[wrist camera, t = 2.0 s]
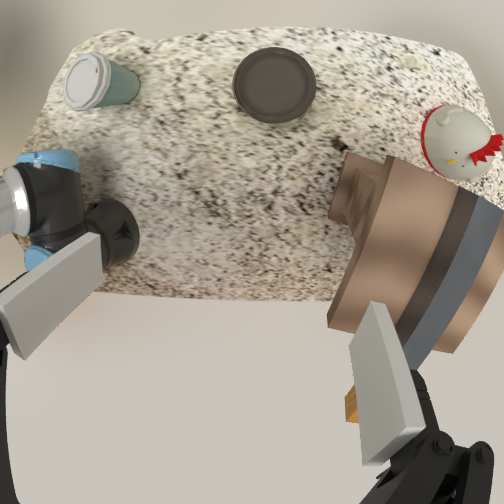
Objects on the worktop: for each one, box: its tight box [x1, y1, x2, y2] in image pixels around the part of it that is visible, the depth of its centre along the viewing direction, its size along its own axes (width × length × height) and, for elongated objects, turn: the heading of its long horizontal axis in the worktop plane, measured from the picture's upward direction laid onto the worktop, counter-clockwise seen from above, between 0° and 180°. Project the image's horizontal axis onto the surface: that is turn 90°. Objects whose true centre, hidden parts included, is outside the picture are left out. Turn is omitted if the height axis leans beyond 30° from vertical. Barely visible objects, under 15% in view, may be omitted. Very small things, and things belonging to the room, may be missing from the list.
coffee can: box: [232, 47, 316, 125], centre depth 37 cm, size 10×10×14 cm
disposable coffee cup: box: [62, 52, 140, 112], centre depth 39 cm, size 11×11×15 cm
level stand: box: [327, 152, 504, 354], centre depth 33 cm, size 15×17×30 cm
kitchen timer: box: [421, 105, 503, 182], centre depth 33 cm, size 14×14×15 cm
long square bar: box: [345, 186, 504, 423], centre depth 20 cm, size 24×3×3 cm, turn 167°
